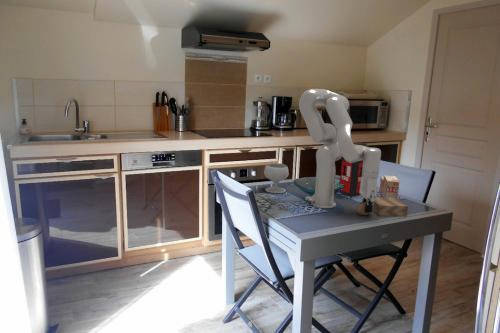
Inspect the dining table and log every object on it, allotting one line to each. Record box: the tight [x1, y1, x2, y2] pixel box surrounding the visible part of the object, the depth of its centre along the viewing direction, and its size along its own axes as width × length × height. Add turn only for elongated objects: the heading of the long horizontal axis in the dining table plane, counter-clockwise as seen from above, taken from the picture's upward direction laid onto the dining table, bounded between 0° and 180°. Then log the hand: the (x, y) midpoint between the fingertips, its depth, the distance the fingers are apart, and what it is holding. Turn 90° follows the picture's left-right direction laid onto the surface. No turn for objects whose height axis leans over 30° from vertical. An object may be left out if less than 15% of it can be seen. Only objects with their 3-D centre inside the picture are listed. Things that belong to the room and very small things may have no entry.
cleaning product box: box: [338, 158, 363, 198], centre depth 219 cm, size 16×9×20 cm, turn 120°
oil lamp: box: [357, 201, 375, 216], centre depth 184 cm, size 9×4×8 cm, turn 107°
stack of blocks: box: [379, 174, 401, 199], centre depth 213 cm, size 21×6×12 cm, turn 170°
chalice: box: [263, 162, 290, 194], centre depth 218 cm, size 14×14×15 cm
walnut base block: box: [369, 196, 409, 217], centre depth 191 cm, size 14×14×5 cm
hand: (366, 210), depth 184 cm, fingers closed on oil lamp, 4 cm apart
